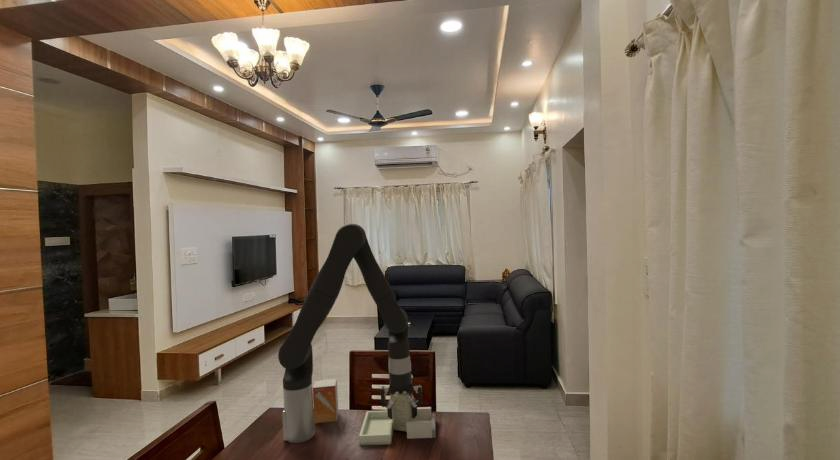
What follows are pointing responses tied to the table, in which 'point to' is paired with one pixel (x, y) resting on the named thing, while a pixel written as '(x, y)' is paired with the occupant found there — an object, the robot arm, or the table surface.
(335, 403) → the small box
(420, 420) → the off-white card holder
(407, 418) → the skincare box
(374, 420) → the tray
